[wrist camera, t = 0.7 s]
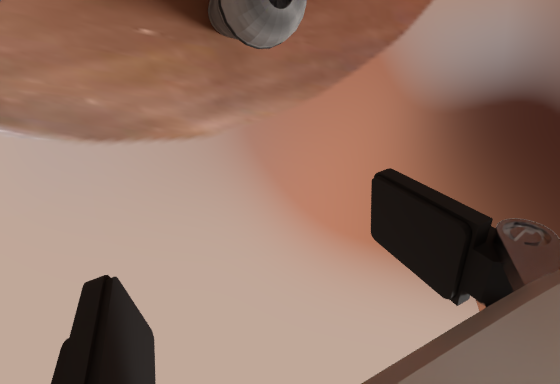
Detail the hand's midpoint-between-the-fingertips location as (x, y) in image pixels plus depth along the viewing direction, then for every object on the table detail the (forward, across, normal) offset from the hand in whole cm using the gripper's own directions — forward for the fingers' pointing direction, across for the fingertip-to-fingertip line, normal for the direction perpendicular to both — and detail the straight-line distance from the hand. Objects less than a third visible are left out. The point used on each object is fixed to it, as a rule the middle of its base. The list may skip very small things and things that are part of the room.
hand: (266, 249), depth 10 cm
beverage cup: (+30, -8, -8) cm, 32 cm away
